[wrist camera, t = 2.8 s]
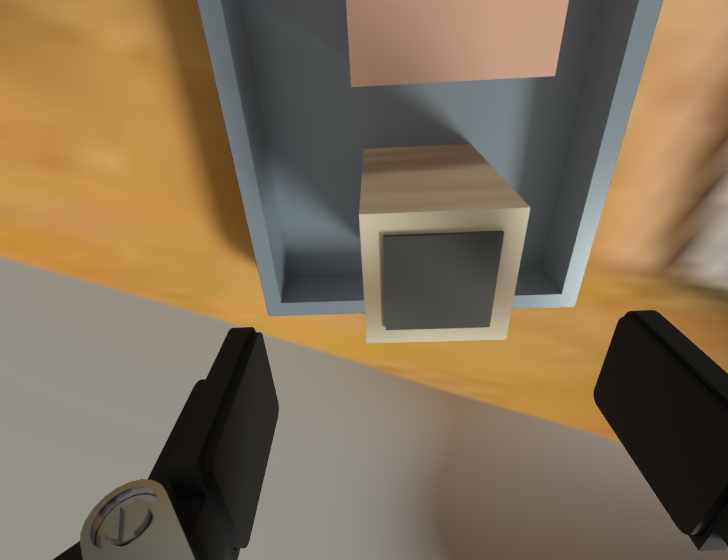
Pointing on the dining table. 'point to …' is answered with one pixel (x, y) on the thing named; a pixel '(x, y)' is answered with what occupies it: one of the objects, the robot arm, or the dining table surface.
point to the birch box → (438, 244)
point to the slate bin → (414, 140)
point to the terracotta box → (452, 40)
